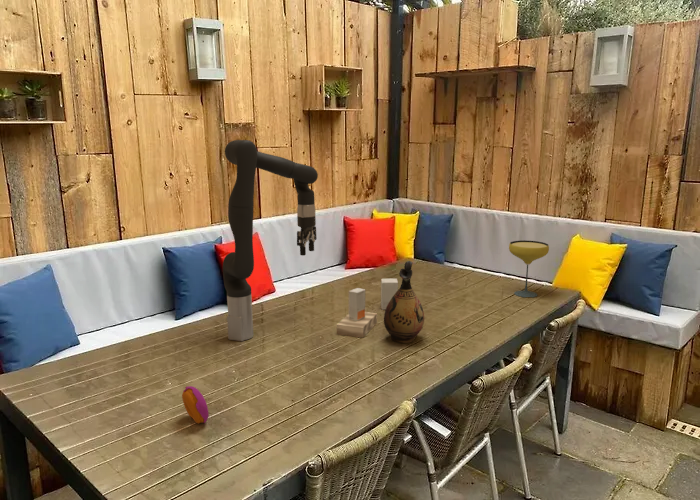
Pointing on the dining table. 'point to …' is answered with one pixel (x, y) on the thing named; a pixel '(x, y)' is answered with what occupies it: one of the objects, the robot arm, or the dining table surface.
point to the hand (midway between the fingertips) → (307, 253)
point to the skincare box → (357, 304)
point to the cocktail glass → (528, 257)
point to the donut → (195, 404)
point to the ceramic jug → (404, 311)
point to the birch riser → (357, 325)
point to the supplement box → (388, 291)
